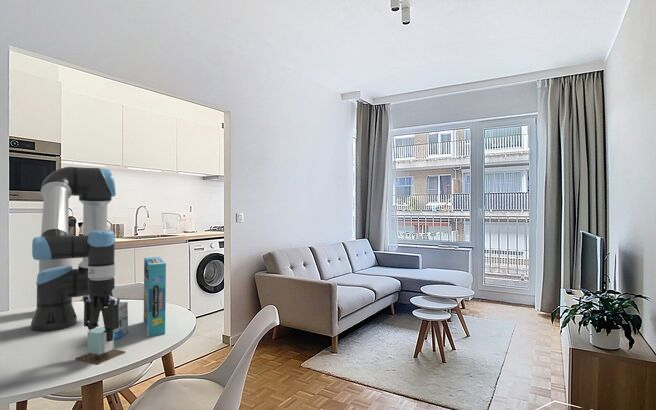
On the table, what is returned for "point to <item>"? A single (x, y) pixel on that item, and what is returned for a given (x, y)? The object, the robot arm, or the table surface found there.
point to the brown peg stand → (100, 356)
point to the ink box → (122, 320)
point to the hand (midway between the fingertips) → (100, 349)
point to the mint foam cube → (97, 341)
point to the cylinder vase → (54, 263)
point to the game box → (154, 295)
